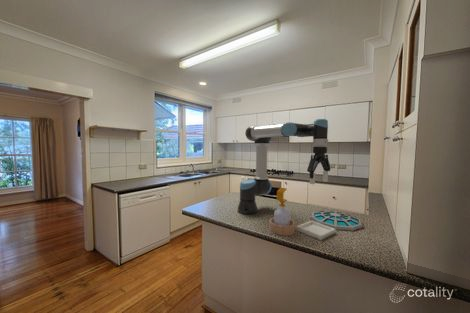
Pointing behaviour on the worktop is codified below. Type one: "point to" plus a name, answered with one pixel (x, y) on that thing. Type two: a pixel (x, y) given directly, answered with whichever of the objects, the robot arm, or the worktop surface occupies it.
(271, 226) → the holder ring
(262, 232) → the worktop surface
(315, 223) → the tray
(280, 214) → the soap bottle
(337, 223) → the decorative platform
